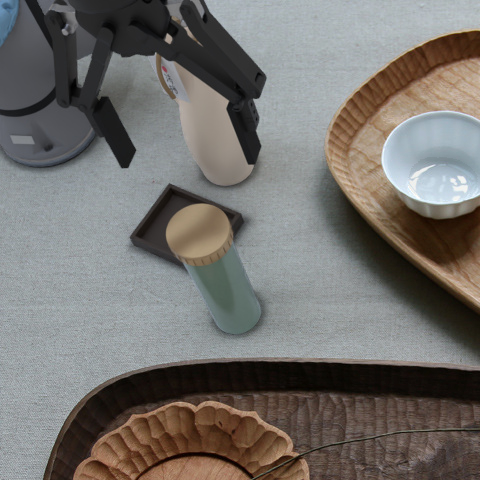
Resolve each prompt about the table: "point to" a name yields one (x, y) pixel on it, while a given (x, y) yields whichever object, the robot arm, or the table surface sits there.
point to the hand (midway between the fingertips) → (191, 157)
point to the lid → (199, 234)
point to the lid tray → (157, 218)
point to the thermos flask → (227, 292)
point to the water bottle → (203, 121)
